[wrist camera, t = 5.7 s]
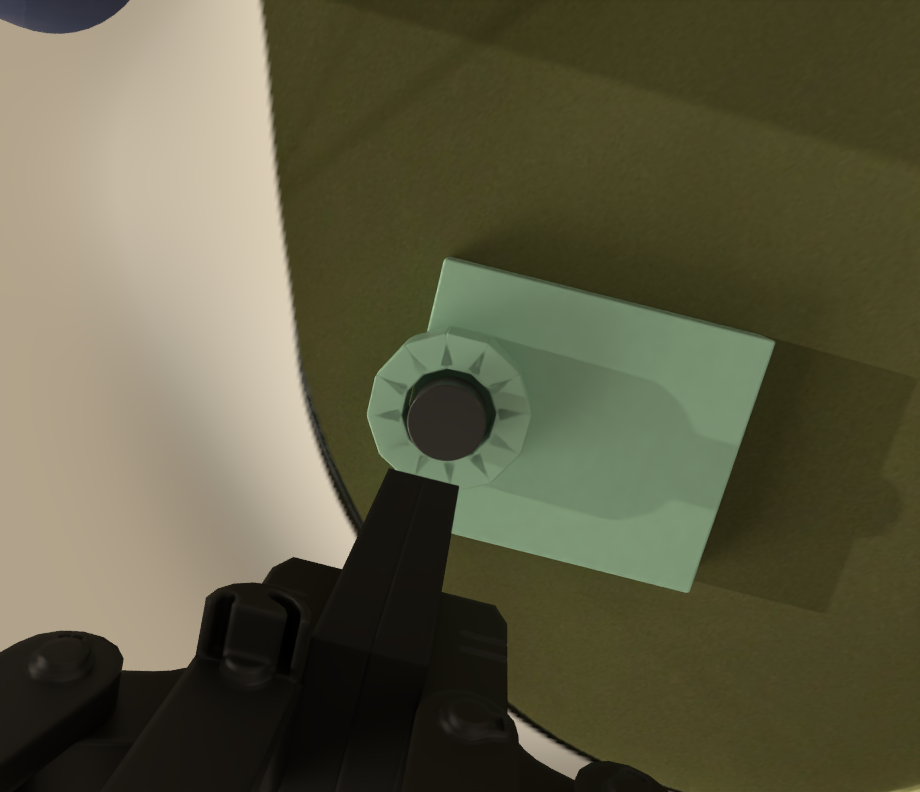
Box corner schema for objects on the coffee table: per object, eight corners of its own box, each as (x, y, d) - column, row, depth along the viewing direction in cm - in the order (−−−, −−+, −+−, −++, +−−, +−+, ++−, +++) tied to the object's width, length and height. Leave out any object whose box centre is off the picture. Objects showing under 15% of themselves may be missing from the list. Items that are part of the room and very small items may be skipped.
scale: (359, 493, 31) (341, 527, 28) (415, 247, 29) (403, 251, 25) (679, 574, 31) (701, 618, 27) (761, 334, 29) (795, 350, 25)
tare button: (405, 438, 27) (398, 450, 26) (421, 367, 26) (416, 376, 25) (476, 456, 27) (475, 470, 26) (495, 385, 26) (494, 396, 25)
